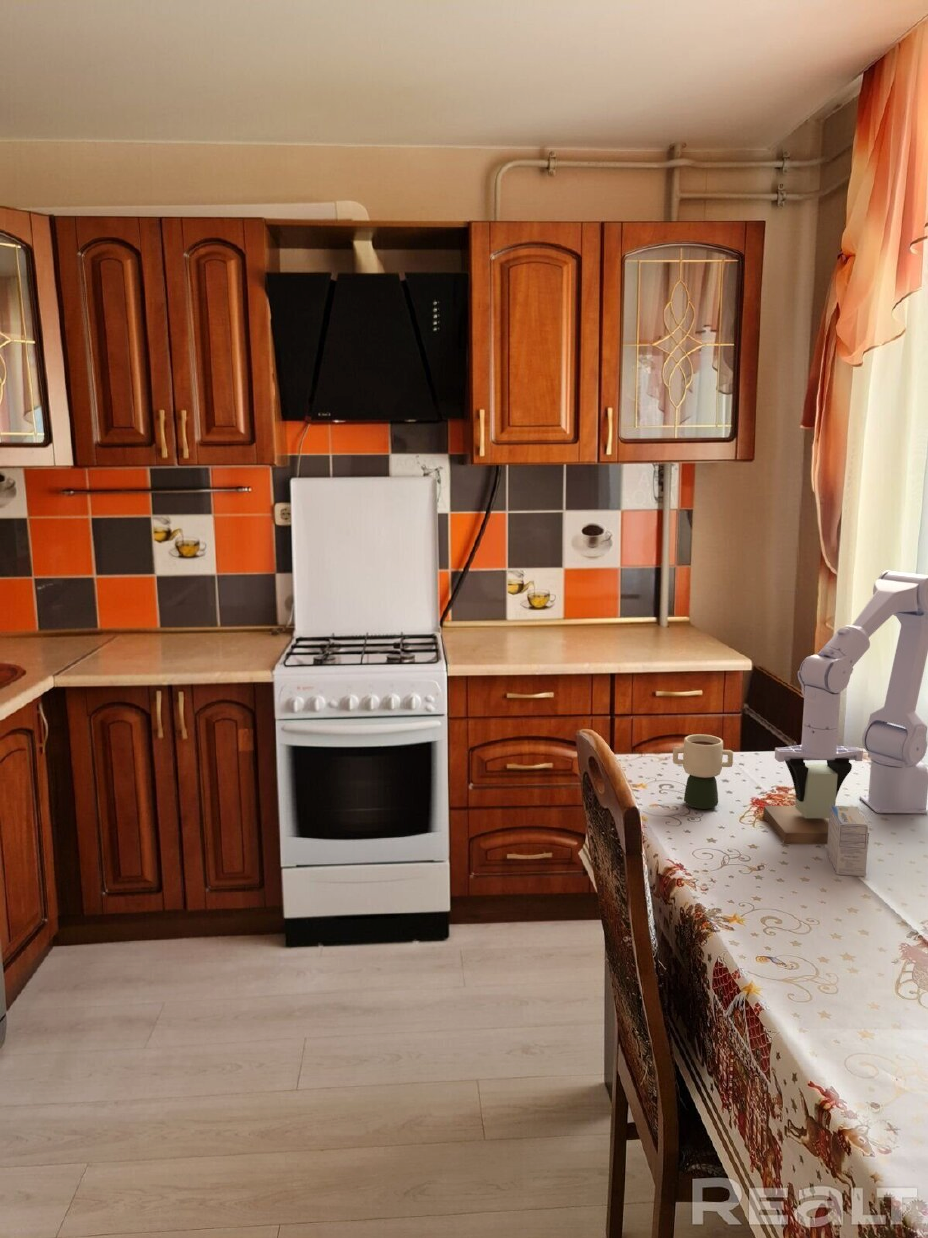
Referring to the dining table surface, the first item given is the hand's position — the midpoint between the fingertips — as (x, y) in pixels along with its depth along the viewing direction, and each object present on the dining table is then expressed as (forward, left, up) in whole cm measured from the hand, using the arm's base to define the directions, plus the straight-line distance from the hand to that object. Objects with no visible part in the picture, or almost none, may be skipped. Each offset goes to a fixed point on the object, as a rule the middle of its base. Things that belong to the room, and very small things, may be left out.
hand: (815, 799), depth 155 cm
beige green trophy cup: (+17, -11, -6) cm, 21 cm away
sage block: (0, 0, -2) cm, 2 cm away
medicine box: (0, +14, -6) cm, 15 cm away
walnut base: (0, 0, -6) cm, 6 cm away
